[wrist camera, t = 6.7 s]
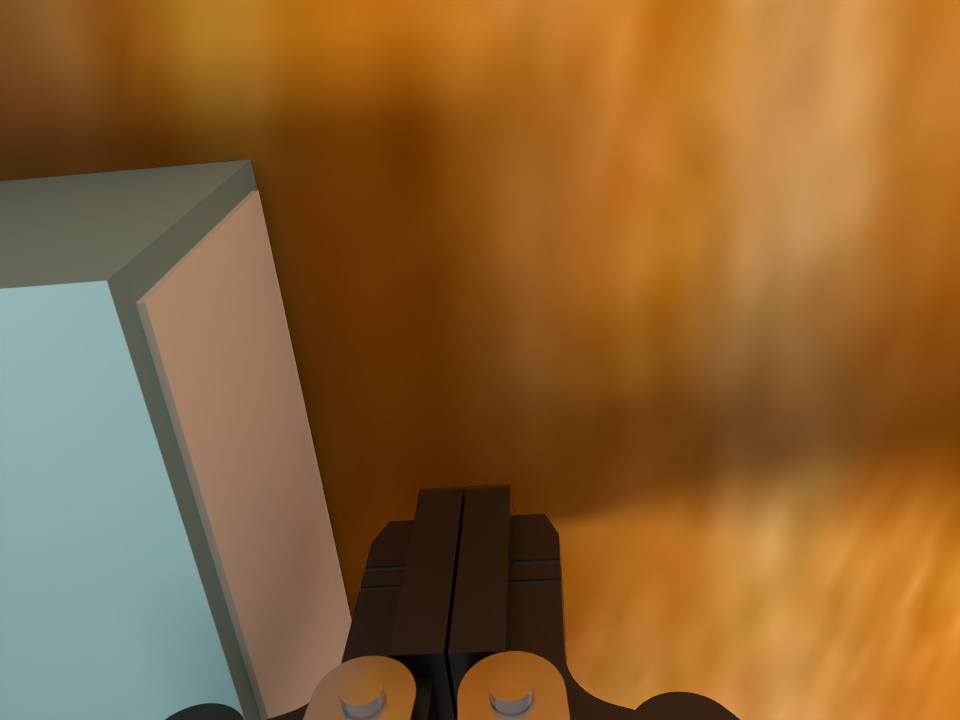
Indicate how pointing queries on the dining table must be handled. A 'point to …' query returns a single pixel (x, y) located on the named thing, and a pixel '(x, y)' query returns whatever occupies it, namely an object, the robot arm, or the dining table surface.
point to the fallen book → (155, 456)
